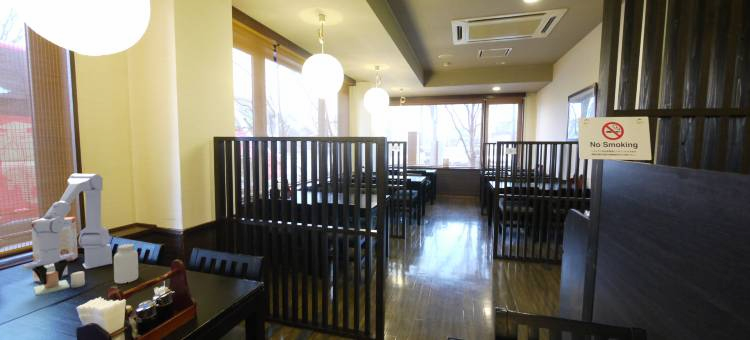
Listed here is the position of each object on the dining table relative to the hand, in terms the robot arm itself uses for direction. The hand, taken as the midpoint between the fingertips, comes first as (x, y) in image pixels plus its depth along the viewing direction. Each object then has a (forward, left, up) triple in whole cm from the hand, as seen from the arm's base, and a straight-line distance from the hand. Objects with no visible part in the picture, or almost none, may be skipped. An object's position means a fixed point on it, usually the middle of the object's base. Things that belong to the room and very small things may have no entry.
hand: (51, 281), depth 121 cm
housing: (-1, -13, -3) cm, 13 cm away
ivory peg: (-7, +4, -3) cm, 9 cm away
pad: (0, 0, -3) cm, 3 cm away
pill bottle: (-21, +12, -3) cm, 24 cm away
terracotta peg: (0, 0, -2) cm, 2 cm away
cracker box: (-5, -37, -3) cm, 37 cm away
